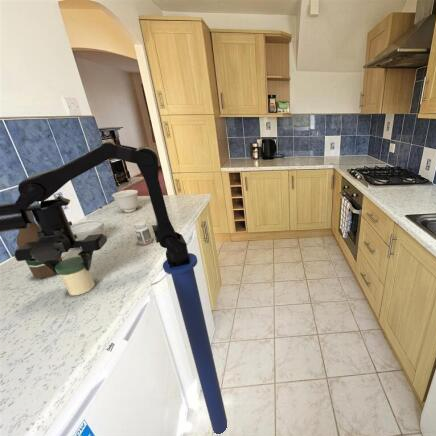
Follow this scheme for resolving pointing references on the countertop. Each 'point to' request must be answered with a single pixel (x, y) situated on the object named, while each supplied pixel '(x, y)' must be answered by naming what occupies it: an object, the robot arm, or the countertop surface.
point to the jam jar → (78, 282)
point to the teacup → (127, 200)
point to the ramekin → (87, 228)
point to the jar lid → (70, 265)
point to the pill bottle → (142, 233)
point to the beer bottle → (31, 236)
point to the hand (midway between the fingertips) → (74, 272)
